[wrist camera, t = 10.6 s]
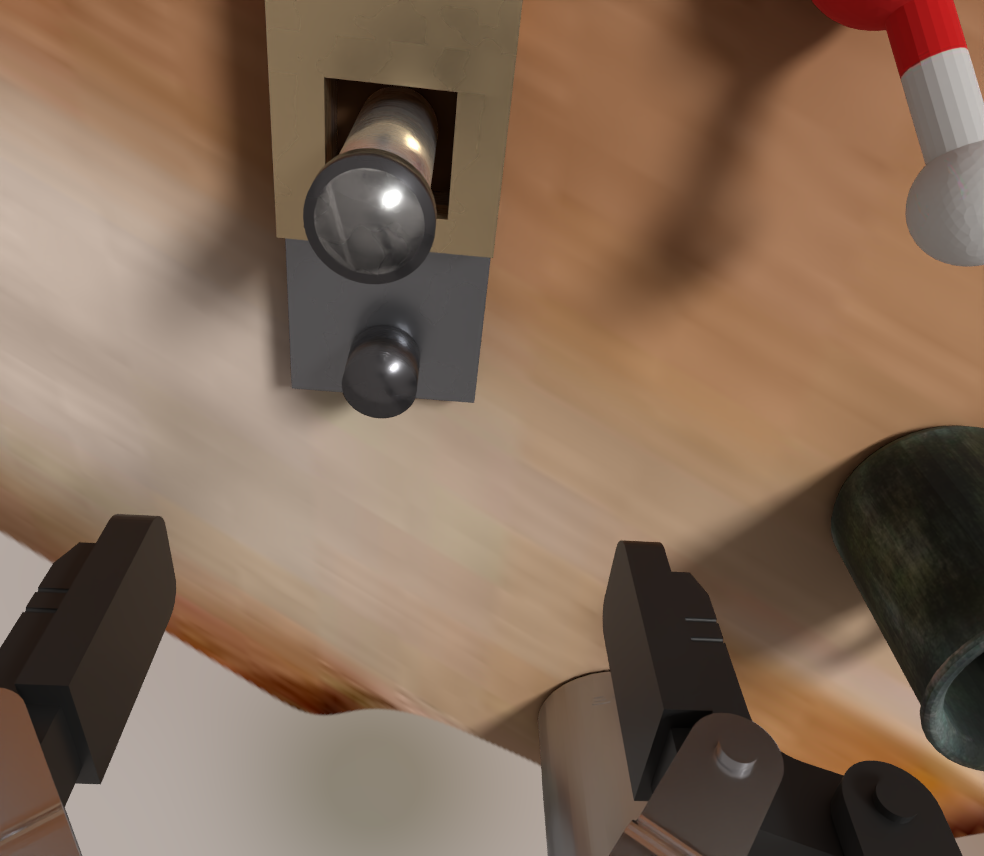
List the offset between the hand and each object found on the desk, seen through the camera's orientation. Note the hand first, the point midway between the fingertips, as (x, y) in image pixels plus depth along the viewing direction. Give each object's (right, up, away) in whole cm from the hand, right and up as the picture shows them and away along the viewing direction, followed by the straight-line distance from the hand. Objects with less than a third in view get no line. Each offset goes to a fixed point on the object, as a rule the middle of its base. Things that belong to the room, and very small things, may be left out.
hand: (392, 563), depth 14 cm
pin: (-2, +14, +16) cm, 21 cm away
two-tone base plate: (-2, +14, +16) cm, 21 cm away
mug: (+25, -2, +28) cm, 38 cm away
